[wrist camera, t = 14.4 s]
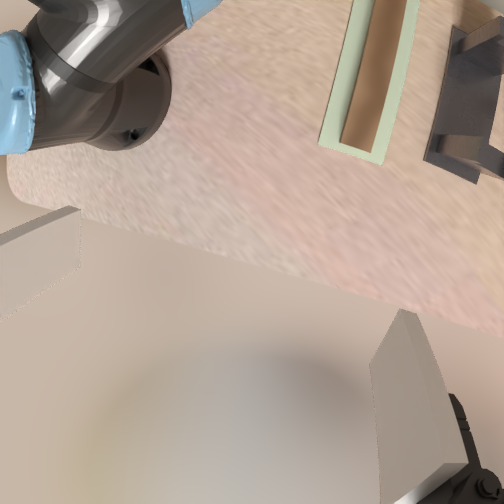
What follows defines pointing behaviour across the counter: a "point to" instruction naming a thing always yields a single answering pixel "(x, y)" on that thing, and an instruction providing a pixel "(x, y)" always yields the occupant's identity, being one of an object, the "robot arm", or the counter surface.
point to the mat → (348, 77)
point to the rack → (469, 104)
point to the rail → (373, 74)
